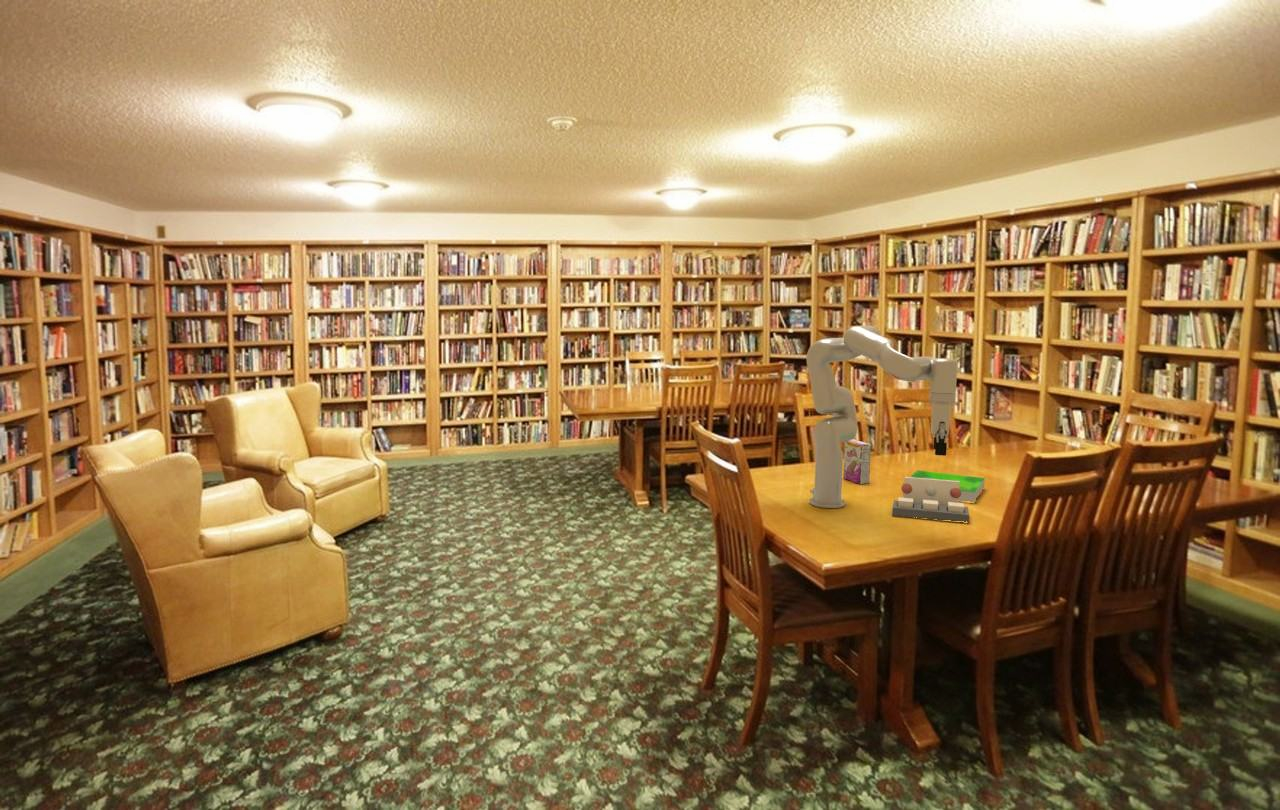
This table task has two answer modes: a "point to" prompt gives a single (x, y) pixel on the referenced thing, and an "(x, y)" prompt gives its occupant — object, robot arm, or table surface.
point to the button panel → (930, 491)
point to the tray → (967, 483)
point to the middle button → (930, 504)
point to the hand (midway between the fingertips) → (939, 452)
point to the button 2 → (955, 507)
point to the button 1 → (905, 502)
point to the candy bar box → (857, 461)
